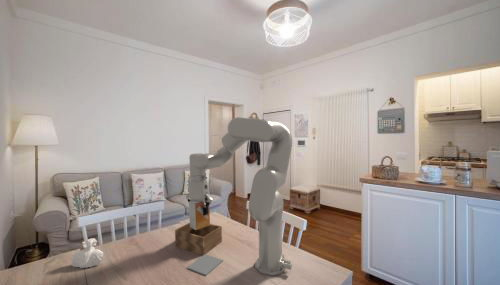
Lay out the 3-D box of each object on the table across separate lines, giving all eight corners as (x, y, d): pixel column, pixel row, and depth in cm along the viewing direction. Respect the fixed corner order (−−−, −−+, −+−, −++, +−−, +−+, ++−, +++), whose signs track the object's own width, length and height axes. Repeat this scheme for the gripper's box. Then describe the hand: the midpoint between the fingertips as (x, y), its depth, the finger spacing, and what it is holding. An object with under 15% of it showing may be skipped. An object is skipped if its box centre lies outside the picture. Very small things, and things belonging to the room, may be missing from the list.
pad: (222, 261, 92) (222, 260, 92) (206, 275, 83) (206, 274, 83) (205, 255, 97) (205, 254, 97) (187, 268, 88) (187, 267, 88)
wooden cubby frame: (221, 241, 109) (221, 226, 109) (203, 255, 97) (203, 238, 97) (195, 234, 118) (195, 220, 118) (175, 245, 106) (175, 229, 105)
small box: (196, 230, 102) (194, 203, 101) (189, 227, 106) (188, 201, 106) (210, 225, 107) (209, 199, 107) (203, 222, 112) (202, 197, 112)
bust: (104, 267, 92) (111, 239, 99) (96, 265, 86) (104, 235, 93) (73, 270, 91) (83, 241, 97) (63, 268, 84) (74, 237, 91)
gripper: (216, 178, 105) (218, 213, 106) (190, 176, 114) (191, 209, 114) (206, 180, 99) (208, 218, 99) (179, 178, 107) (181, 213, 108)
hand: (199, 213), depth 107 cm, fingers closed on small box, 7 cm apart
